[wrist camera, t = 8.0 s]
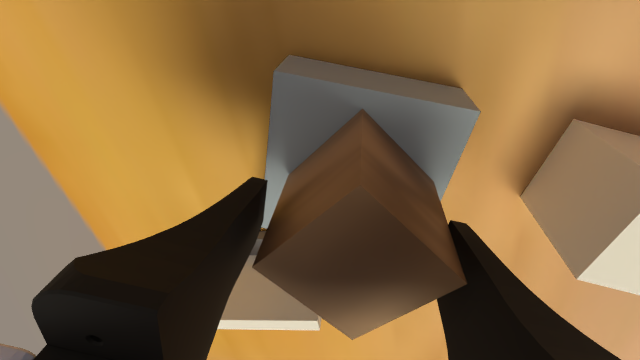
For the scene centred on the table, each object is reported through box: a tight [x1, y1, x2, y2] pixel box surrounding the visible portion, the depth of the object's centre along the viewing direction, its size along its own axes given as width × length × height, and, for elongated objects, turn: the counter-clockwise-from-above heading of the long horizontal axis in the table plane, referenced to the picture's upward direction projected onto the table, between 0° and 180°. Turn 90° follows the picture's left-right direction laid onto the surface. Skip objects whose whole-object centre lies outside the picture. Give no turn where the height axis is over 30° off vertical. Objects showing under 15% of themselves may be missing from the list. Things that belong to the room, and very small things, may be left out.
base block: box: [261, 55, 481, 228], centre depth 17 cm, size 8×8×4 cm
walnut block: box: [252, 108, 467, 340], centre depth 13 cm, size 5×5×6 cm
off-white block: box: [520, 119, 640, 295], centre depth 15 cm, size 5×5×6 cm
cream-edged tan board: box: [217, 231, 321, 330], centre depth 21 cm, size 7×4×6 cm, turn 99°
